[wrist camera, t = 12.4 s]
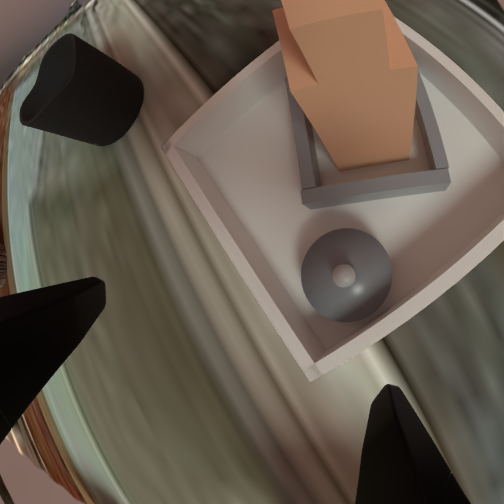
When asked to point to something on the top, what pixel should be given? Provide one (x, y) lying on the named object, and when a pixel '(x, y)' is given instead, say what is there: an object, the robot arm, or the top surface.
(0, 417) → the robot arm
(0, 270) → the cupcake
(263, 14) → the top surface
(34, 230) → the top surface
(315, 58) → the post
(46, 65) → the pen holder
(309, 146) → the tray
